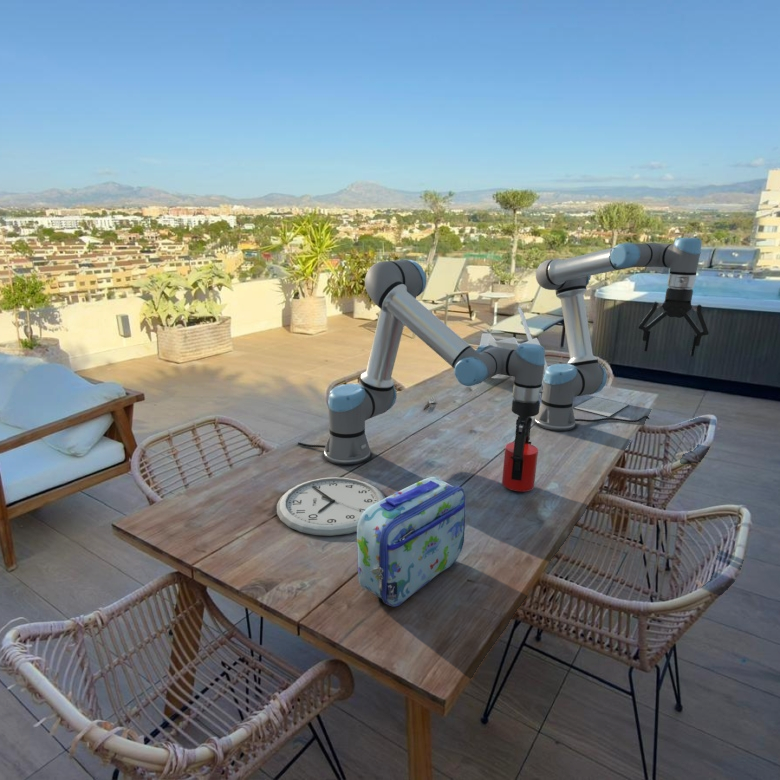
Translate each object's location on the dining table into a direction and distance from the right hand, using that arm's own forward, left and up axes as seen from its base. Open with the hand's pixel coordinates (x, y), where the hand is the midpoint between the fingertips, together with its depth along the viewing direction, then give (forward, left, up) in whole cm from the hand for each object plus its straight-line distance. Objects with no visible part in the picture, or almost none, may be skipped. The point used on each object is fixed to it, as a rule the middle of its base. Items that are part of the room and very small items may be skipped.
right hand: (668, 353), depth 173 cm
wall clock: (+102, +54, -35) cm, 120 cm away
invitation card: (+6, -45, -35) cm, 57 cm away
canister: (+50, +36, -33) cm, 70 cm away
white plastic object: (+44, -74, -35) cm, 92 cm away
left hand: (+50, +36, -29) cm, 68 cm away
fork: (+80, -34, -35) cm, 93 cm away
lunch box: (+78, +82, -35) cm, 118 cm away
